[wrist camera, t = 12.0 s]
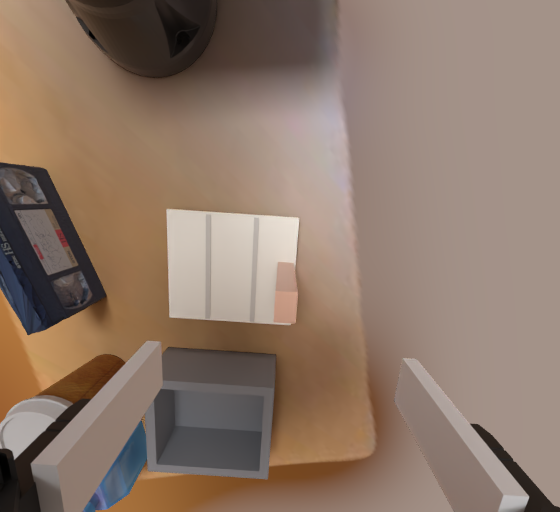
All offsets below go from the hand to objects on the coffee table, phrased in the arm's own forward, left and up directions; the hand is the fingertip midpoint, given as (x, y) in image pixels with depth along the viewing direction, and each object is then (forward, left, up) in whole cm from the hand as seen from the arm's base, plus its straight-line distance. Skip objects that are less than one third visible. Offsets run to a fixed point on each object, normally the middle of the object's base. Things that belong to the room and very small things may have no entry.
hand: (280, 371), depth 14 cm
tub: (+20, -8, -22) cm, 31 cm away
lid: (0, -7, -21) cm, 22 cm away
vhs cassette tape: (-2, -29, -22) cm, 36 cm away
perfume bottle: (+30, -23, -22) cm, 44 cm away
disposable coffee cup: (+18, -25, -22) cm, 38 cm away
